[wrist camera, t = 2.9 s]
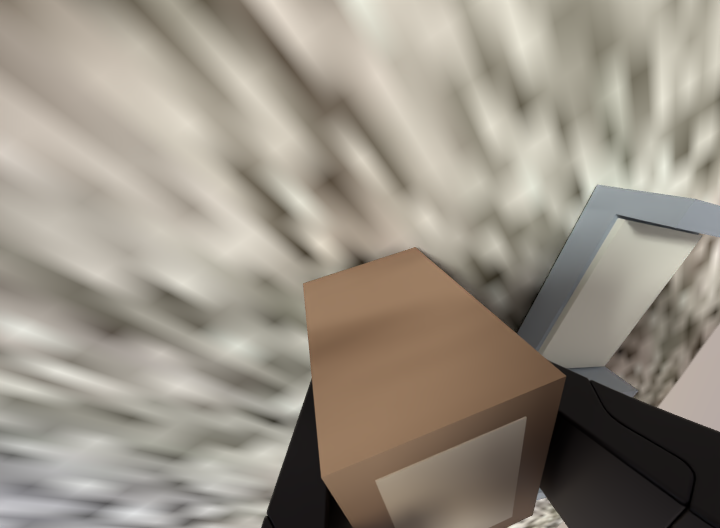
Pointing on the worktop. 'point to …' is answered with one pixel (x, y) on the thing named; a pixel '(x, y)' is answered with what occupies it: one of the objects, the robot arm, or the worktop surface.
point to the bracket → (612, 277)
